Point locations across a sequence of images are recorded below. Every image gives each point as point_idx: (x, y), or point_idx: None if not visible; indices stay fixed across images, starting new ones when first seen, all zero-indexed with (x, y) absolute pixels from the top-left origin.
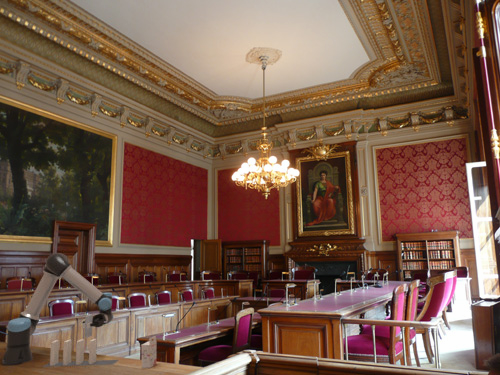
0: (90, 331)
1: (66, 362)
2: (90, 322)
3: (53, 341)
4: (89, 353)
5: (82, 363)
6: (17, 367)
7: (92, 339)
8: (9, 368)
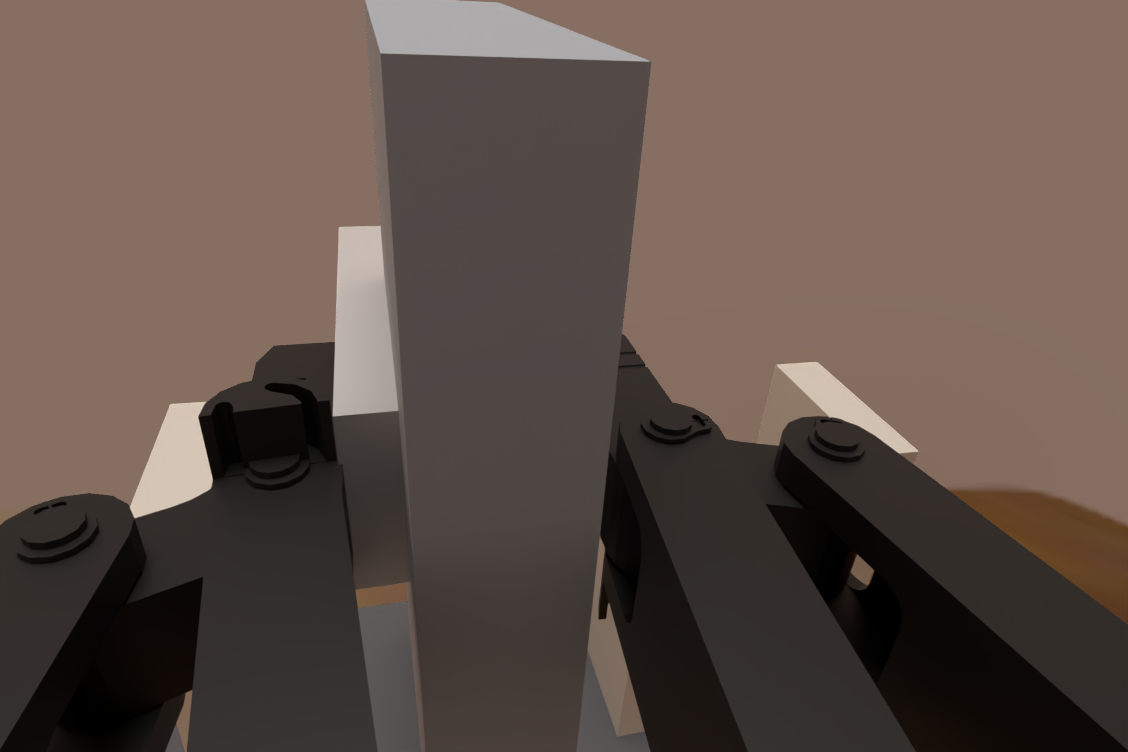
0: (417, 692)
1: None
2: (352, 326)
3: (848, 395)
4: None
5: (395, 689)
6: (1065, 558)
7: (211, 487)
8: (1090, 531)
